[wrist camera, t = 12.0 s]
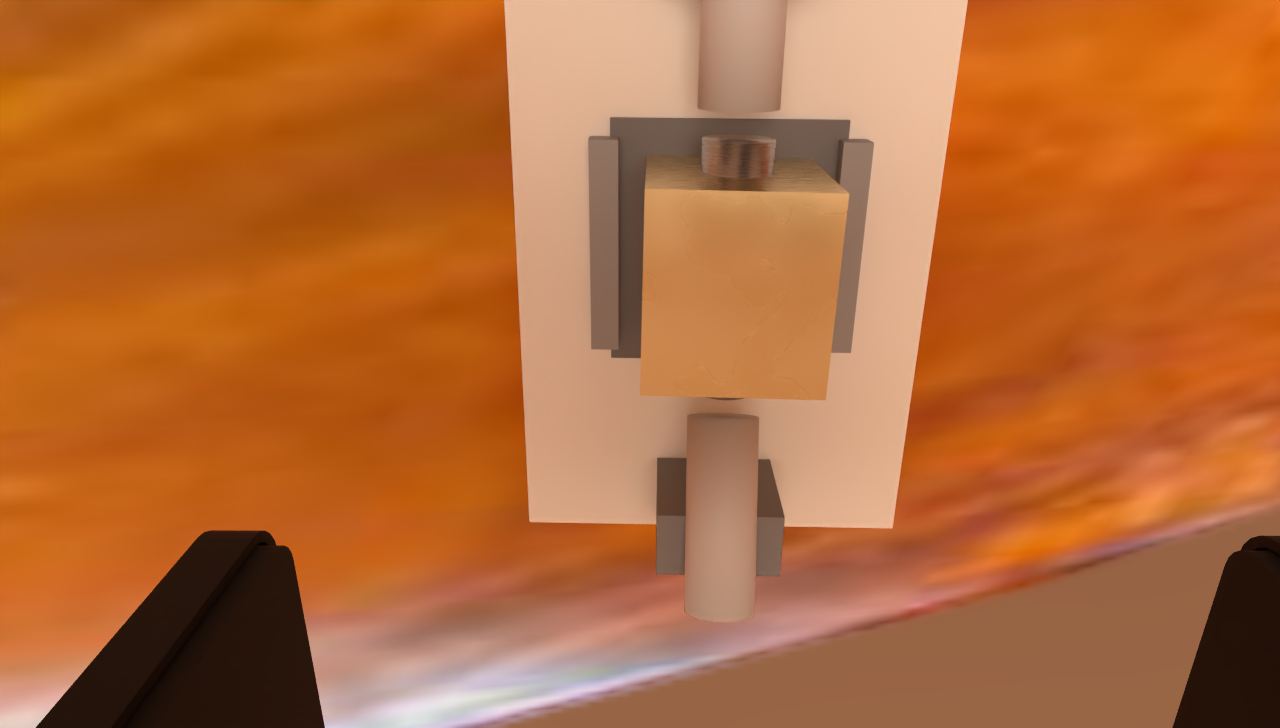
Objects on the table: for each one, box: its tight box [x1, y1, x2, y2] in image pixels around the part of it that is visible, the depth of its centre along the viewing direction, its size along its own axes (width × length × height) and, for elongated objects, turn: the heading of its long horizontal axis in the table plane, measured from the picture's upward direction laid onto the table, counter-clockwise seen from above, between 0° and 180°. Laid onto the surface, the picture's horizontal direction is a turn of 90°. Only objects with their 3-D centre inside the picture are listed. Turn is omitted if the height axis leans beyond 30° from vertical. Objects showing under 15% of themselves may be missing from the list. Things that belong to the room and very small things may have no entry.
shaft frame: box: [504, 0, 968, 622], centre depth 23 cm, size 19×12×7 cm, turn 0°
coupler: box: [640, 134, 849, 400], centre depth 22 cm, size 7×4×5 cm
